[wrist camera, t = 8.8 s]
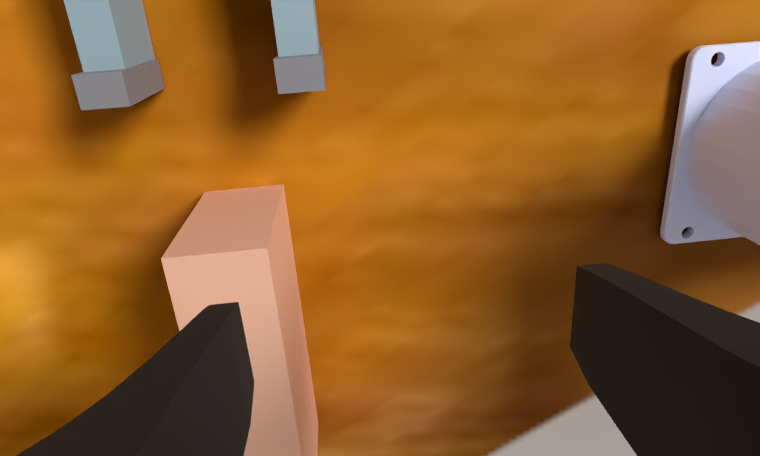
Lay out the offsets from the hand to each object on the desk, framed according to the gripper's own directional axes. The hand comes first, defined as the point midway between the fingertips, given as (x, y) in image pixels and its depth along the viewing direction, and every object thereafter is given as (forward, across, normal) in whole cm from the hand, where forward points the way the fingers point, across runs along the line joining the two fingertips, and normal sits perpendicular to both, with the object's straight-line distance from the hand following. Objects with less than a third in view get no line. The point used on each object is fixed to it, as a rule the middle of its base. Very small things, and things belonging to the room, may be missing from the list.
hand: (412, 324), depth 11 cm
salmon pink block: (+11, +5, +6) cm, 13 cm away
